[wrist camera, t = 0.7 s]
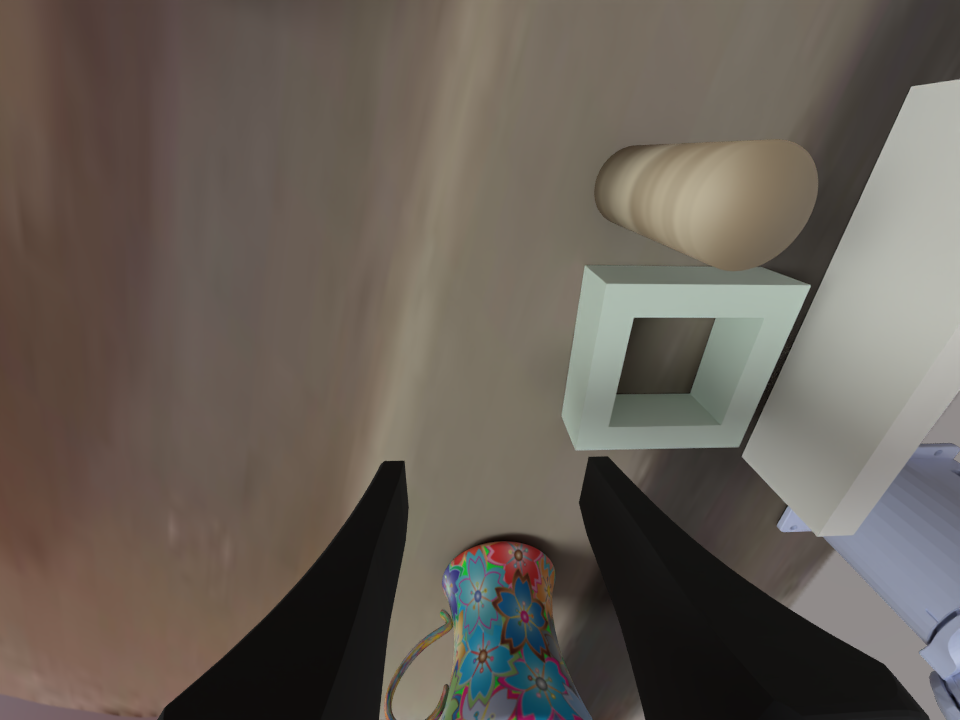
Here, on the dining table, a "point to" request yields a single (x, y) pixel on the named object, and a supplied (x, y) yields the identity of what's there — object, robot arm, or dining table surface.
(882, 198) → the wall
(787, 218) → the dowel
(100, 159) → the dining table surface
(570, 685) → the mug
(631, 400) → the socket block
